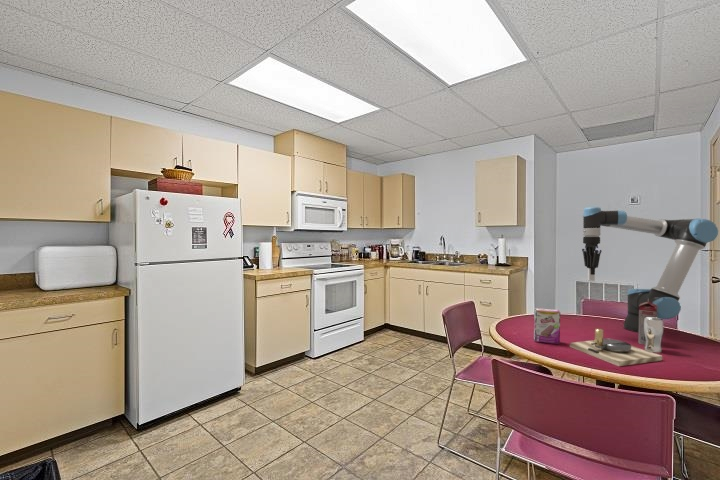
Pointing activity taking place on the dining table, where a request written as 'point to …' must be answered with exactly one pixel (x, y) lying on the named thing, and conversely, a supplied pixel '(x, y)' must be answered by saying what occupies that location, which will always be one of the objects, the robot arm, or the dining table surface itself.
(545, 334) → the candy bar box
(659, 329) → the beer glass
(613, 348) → the grey round handled piece
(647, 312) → the juice carton
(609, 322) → the dining table surface
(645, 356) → the stand
